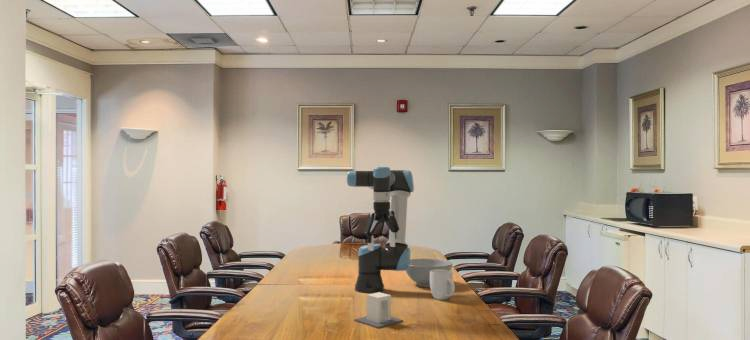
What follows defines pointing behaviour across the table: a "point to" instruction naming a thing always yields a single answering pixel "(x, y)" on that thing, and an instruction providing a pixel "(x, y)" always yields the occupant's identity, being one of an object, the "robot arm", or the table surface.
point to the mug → (441, 284)
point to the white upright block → (378, 307)
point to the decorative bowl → (425, 269)
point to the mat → (378, 325)
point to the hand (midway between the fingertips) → (381, 248)
